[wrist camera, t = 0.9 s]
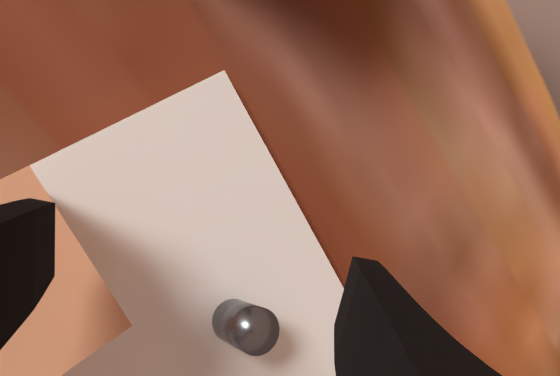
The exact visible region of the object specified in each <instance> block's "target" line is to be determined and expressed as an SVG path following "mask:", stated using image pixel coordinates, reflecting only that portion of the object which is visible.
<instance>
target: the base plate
mask: <svg viewBox="0 0 560 376" xmlns="http://www.w3.org/2000/svg"><path fill="white" fill-rule="evenodd" d="M30 167H31V169H32V170H33V172H34V174H35V175H36V177H37V178H38V180H39V181H40V183H41V184H42V186H43V188H44V189H45V191H46V192H47V194H48V195H49V197H50V198H51V200H52V202H54V203H55V206H56V208H57V209H58V211H59V212H60V214H61V216H62V217H63V219H64V220H65V222H66V223H67V225H68V226H69V228H70V230H71V231H72V233H73V234H74V236H75V237H76V239H77V240H78V242H79V244H80V245H81V247H82V248H83V250H84V251H85V253H86V254H87V256H88V258H89V259H90V261H91V262H92V264H93V265H94V267H95V268H96V270H97V272H98V273H99V275H100V276H101V278H102V279H103V281H104V282H105V284H106V286H107V287H108V289H109V290H110V292H111V293H112V295H113V296H114V298H115V300H116V301H117V303H118V304H119V306H120V307H121V309H122V310H123V312H124V314H125V315H126V317H127V318H128V320H129V321H130V323H131V324H132V326H131V327H130V328H128V329H127V330H125V331H124V332H123V333H121V334H120V335H118V336H117V337H115V338H114V339H113V340H111V341H110V342H108V343H107V344H105V345H104V346H103V347H101V348H100V349H98V350H97V351H95V352H94V353H93V354H91V355H90V356H88V357H87V358H85V359H84V360H83V361H81V362H80V363H78V364H77V365H75V366H74V367H73V368H71V369H70V370H68V371H67V372H65V373H64V374H63V375H61V376H336V372H335V365H334V324H335V320H336V316H337V313H338V309H339V305H340V302H341V298H342V294H343V291H344V288H343V286H342V284H341V282H340V281H339V279H338V277H337V275H336V273H335V272H334V270H333V268H332V266H331V264H330V262H329V261H328V259H327V257H326V255H325V253H324V251H323V250H322V248H321V246H320V244H319V242H318V240H317V239H316V237H315V235H314V233H313V231H312V230H311V228H310V226H309V224H308V222H307V220H306V219H305V217H304V215H303V213H302V211H301V209H300V208H299V206H298V204H297V202H296V200H295V199H294V197H293V195H292V193H291V191H290V189H289V188H288V186H287V184H286V182H285V180H284V178H283V177H282V175H281V173H280V171H279V169H278V167H277V166H276V164H275V162H274V160H273V158H272V157H271V155H270V153H269V151H268V149H267V147H266V146H265V144H264V142H263V140H262V138H261V136H260V135H259V133H258V131H257V129H256V127H255V126H254V124H253V122H252V120H251V118H250V116H249V115H248V113H247V111H246V109H245V107H244V105H243V104H242V102H241V100H240V98H239V96H238V95H237V93H236V91H235V89H234V87H233V85H232V84H231V82H230V80H229V78H228V76H227V74H226V73H225V71H221V72H219V73H217V74H215V75H213V76H211V77H209V78H207V79H205V80H203V81H201V82H199V83H197V84H195V85H193V86H191V87H189V88H187V89H185V90H183V91H181V92H179V93H177V94H175V95H172V96H170V97H168V98H166V99H164V100H162V101H160V102H158V103H156V104H154V105H152V106H150V107H148V108H146V109H144V110H142V111H140V112H138V113H136V114H134V115H132V116H130V117H128V118H126V119H124V120H121V121H119V122H117V123H115V124H113V125H111V126H109V127H107V128H105V129H103V130H101V131H99V132H97V133H95V134H93V135H91V136H89V137H87V138H85V139H83V140H81V141H79V142H77V143H75V144H72V145H70V146H68V147H66V148H64V149H62V150H60V151H58V152H56V153H54V154H52V155H50V156H48V157H46V158H44V159H42V160H40V161H38V162H36V163H34V164H32V165H30ZM228 299H239V300H242V301H245V302H248V303H251V304H254V305H257V306H260V307H264V308H266V309H269V310H270V311H272V312H273V313H274V314H275V316H276V317H277V319H278V322H279V328H280V330H279V337H278V340H277V342H276V344H275V346H274V347H273V348H272V349H271V350H270V351H269V352H268V353H266V354H264V355H261V356H251V355H248V354H246V353H244V352H243V351H241V350H239V349H237V348H235V347H234V346H232V345H230V344H228V343H227V342H225V341H223V340H221V339H220V338H218V337H217V335H216V334H215V332H214V330H213V327H212V318H213V314H214V312H215V310H216V308H217V307H218V306H219V305H220V304H221V303H222V302H224V301H226V300H228Z"/></svg>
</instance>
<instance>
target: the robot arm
mask: <svg viewBox="0 0 560 376" xmlns="http://www.w3.org/2000/svg"><path fill="white" fill-rule="evenodd" d="M54 276H55V203H54V202H48V201H43V200H37V199H32V198H28V199H21V200H17V201H12V202H8V203H5V204H1V205H0V350H1V349H2V348H3V346H4V345H5V344H6V343H7V342H8V341H9V339H10V338H11V337H12V336H13V335H14V333H15V332H16V331H17V330H18V329H19V327H20V326H21V325H22V324H23V323H24V321H25V320H26V319H27V318H28V317H29V315H30V314H31V313H32V312H33V310H34V309H35V307H36V306H37V304H38V303H39V301H40V300H41V298H42V296H43V295H44V293H45V292H46V290H47V288H48V287H49V285H50V283H51V281H52V280H53V278H54ZM334 365H335V372H336V376H502V375H500V374H499V373H498V372H496V371H495V370H493V369H492V368H491V367H489V366H488V365H487V364H485V363H484V362H483V361H481V360H480V359H479V358H478V357H476V356H475V355H474V354H473V353H471V352H470V351H469V350H468V349H466V348H465V347H464V346H463V345H461V344H460V343H459V342H458V341H457V340H456V339H454V338H453V337H452V336H451V335H450V334H449V333H448V332H447V331H446V330H445V329H443V328H442V327H441V326H440V325H439V324H438V323H437V322H436V321H435V320H434V319H433V318H432V317H431V316H430V315H429V314H428V313H427V312H426V311H425V310H424V309H423V308H422V307H421V306H420V305H419V304H418V303H417V302H416V301H415V300H414V299H413V298H412V297H411V296H410V295H409V294H408V293H407V291H406V290H405V289H404V288H403V287H402V286H401V285H400V284H399V283H398V282H397V281H396V279H395V278H394V277H393V276H392V275H391V274H390V273H389V272H388V271H387V270H386V269H385V268H384V267H383V266H382V265H381V264H380V263H379V262H378V261H375V260H369V259H364V258H358V257H353V258H352V261H351V265H350V269H349V272H348V276H347V280H346V283H345V287H344V291H343V294H342V298H341V302H340V305H339V309H338V313H337V316H336V320H335V324H334Z"/></svg>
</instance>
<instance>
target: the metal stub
mask: <svg viewBox="0 0 560 376" xmlns="http://www.w3.org/2000/svg"><path fill="white" fill-rule="evenodd" d="M212 327H213V330H214V332H215V334H216V335H217V337H218V338H220V339H221V340H223V341H225V342H227V343H228V344H230V345H232V346H234V347H235V348H237V349H239V350H241V351H243V352H244V353H246V354H248V355H251V356H261V355H264V354H266V353H268V352H269V351H270V350H271V349H272V348H273V347H274V346H275V344H276V342H277V340H278V337H279V330H280V328H279V322H278V319H277V317H276V316H275V314H274V313H273V312H272V311H270V310H269V309H266V308H264V307H260V306H257V305H254V304H251V303H248V302H245V301H242V300H239V299H228V300H226V301H224V302H222V303H221V304H220V305H219V306H218V307H217V308H216V310H215V312H214V314H213V318H212Z"/></svg>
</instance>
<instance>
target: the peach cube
mask: <svg viewBox="0 0 560 376" xmlns="http://www.w3.org/2000/svg"><path fill="white" fill-rule="evenodd" d="M28 198H32V199H37V200H43V201H48V202H52V200H51V198H50V197H49V195H48V194H47V192H46V191H45V189H44V188H43V186H42V184H41V183H40V181H39V180H38V178H37V177H36V175H35V174H34V172H33V170H32V169H31V167H30V166H27V167H25V168H23V169H21V170H19V171H17V172H15V173H13V174H11V175H9V176H7V177H5V178H3V179H1V180H0V205H1V204H5V203H8V202H12V201H17V200H21V199H28ZM131 326H132V324H131V323H130V321H129V320H128V318H127V317H126V315H125V314H124V312H123V310H122V309H121V307H120V306H119V304H118V303H117V301H116V300H115V298H114V296H113V295H112V293H111V292H110V290H109V289H108V287H107V286H106V284H105V282H104V281H103V279H102V278H101V276H100V275H99V273H98V272H97V270H96V268H95V267H94V265H93V264H92V262H91V261H90V259H89V258H88V256H87V254H86V253H85V251H84V250H83V248H82V247H81V245H80V244H79V242H78V240H77V239H76V237H75V236H74V234H73V233H72V231H71V230H70V228H69V226H68V225H67V223H66V222H65V220H64V219H63V217H62V216H61V214H60V212H59V211H58V209H57V208H56V206H55V276H54V278H53V280H52V281H51V283H50V285H49V287H48V288H47V290H46V292H45V293H44V295H43V296H42V298H41V300H40V301H39V303H38V304H37V306H36V307H35V309H34V310H33V312H32V313H31V314H30V315H29V317H28V318H27V319H26V320H25V321H24V323H23V324H22V325H21V326H20V327H19V329H18V330H17V331H16V332H15V333H14V335H13V336H12V337H11V338H10V339H9V341H8V342H7V343H6V344H5V345H4V346H3V348H2V349H1V350H0V376H61V375H63V374H64V373H65V372H67V371H68V370H70V369H71V368H73V367H74V366H75V365H77V364H78V363H80V362H81V361H83V360H84V359H85V358H87V357H88V356H90V355H91V354H93V353H94V352H95V351H97V350H98V349H100V348H101V347H103V346H104V345H105V344H107V343H108V342H110V341H111V340H113V339H114V338H115V337H117V336H118V335H120V334H121V333H123V332H124V331H125V330H127V329H128V328H130V327H131Z"/></svg>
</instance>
